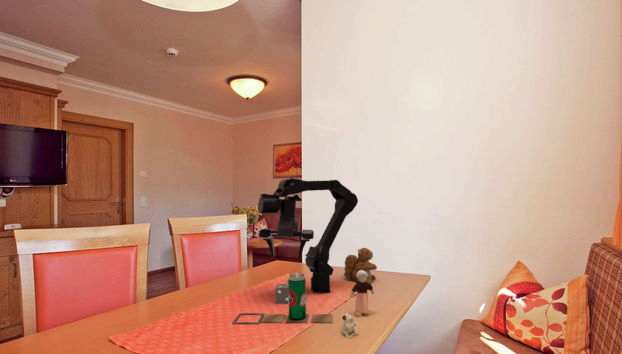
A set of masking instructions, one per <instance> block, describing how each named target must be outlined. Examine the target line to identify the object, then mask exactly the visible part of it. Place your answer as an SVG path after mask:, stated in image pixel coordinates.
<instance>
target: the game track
mask: <svg viewBox="0 0 622 354" xmlns="http://www.w3.org/2000/svg"><path fill="white" fill-rule="evenodd" d="M241 316H260V317H259V319H258V321H252V322H251V321H240V322H239V321H238V319H240V317H241ZM309 316H310V314H309V313H306V317H305V318H304V319H302V320H293V319H291V318H290V317H289V313H288V315H287V317H286V314H285V313H263V312H261V313H260V312H256V313H255V312H252V313H251V312H247V313H245V312H239V313H238V314H237V316H236V317H235V318H234V320H233V321H232V323H231V325H260V324H282V323H283V322H284V319H285V317H286V321H285V324H308V322H309ZM310 323H311V324H333V323H334V315H333V314H332V313H312V314H311V319H310Z"/></svg>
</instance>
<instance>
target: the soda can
mask: <svg viewBox="0 0 622 354" xmlns="http://www.w3.org/2000/svg"><path fill="white" fill-rule="evenodd" d="M306 279H307V278H306V276H305V274H304V273H302V272H301V273H300V272H294V273H291V274H289V275H288V278H287V284H288V314H289V317H290V318H291V319H293V320H302V319H304V318H305V317H306V314H307V286H306V285H307V284H306V283H307V282H306Z"/></svg>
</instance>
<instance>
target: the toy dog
mask: <svg viewBox="0 0 622 354" xmlns="http://www.w3.org/2000/svg"><path fill="white" fill-rule="evenodd" d="M341 319H342V320H343V321H342V322H343V325H342V326H341V325H340V326H339V329H340V331H341V333H342V334H343V335H344V336H345V338H348V339H352V337H353V336H356V335H359V333H358V332H357V331H355V327H356V326H358V322H357V321H356V322H355V321H354V317H353V316H352V314H351V313H345V314H344V315H343V316H342V318H341Z"/></svg>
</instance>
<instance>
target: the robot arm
mask: <svg viewBox="0 0 622 354" xmlns="http://www.w3.org/2000/svg"><path fill="white" fill-rule="evenodd" d="M308 191H311V192H312V191H313V192H314V191H329V192H330V195H331V196H332V197H333V199H334V200H335V202H334V212H333V213H332V215H331V217H330V219H329V222H328V224H327V226H326V227H325V229H324V231H323V233H322V234H321V238H319V241H318V243H317V244H316V245H315V246H311V245H310V246H309V248H308V251H307V253H306V254H305V258H304V260H305V265H306V267H307V268H308V269H309V271H310V273H312V274H311V277H310V289H311V291H312V293H313V294H314V293H316V294H317V293H319V294H320V293H321V294H323V293H326V294H328V293H331V278H330V277H331V276H332V275H333V273H334V268H333V267H332V266H331V265H330V264H329V263H328V262H329V260H330V250H331V248H332V246H333V244H334V242H335V239H336V237H337V236H338V234H339V231H340V229H341V227H342V225H343V223H344V221H345V219H346V218H347V216H349V215H350V214H351V213H352V212H353V210H354V209H355V208H356V206H358V202H359V199H358V197H357V195H356V194H355V193H354V192H352V191H351V190H350V189H349V188H347V187H346V186H345V185H343V184H342V183H341V182H340V181H339V180H338V179H329V180H303V179H299V178H293V177H290V178H284V179H281V180H280V181H279V182H278V187H277V188H276V189H275V191H274V192H273V194H269V193H260V197H259V199H258V203H257V211H258V213H259V214H260V215H261V214H263V215H264V214H272V215H273V214H275V215H276V214H277V213H278V212H279V219H278V223H277V224H278V225H277V226H276V227H277V228H276V229H277V230H274V229H273V228H261V229H260V230H259V232H258V233H259V236H258V238H261V239H262V240H263V241H265V242H266V243H267V246H268V248H269V251H270V252H269V253H270V254H271V255H270V256H271V258H272V259H274V258H275V242H274V241H275V239H274V237H280V238H282V237H287V238H291V237H300V238H301V239H300V245H299V252H298V260H301V257H302V254H303V251H304V247H305V246H306V243H307V242H310V241H311V240H313V239H314V236H315V233H314V230H313V229H302V231H299V221H296V217H297V216H296V212H297V211H296V210H297V202H302V200H303V199H302V198H301V197H300V196H299V195H298V194H300V193H305V192H308ZM283 198H284V199H283Z"/></svg>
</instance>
